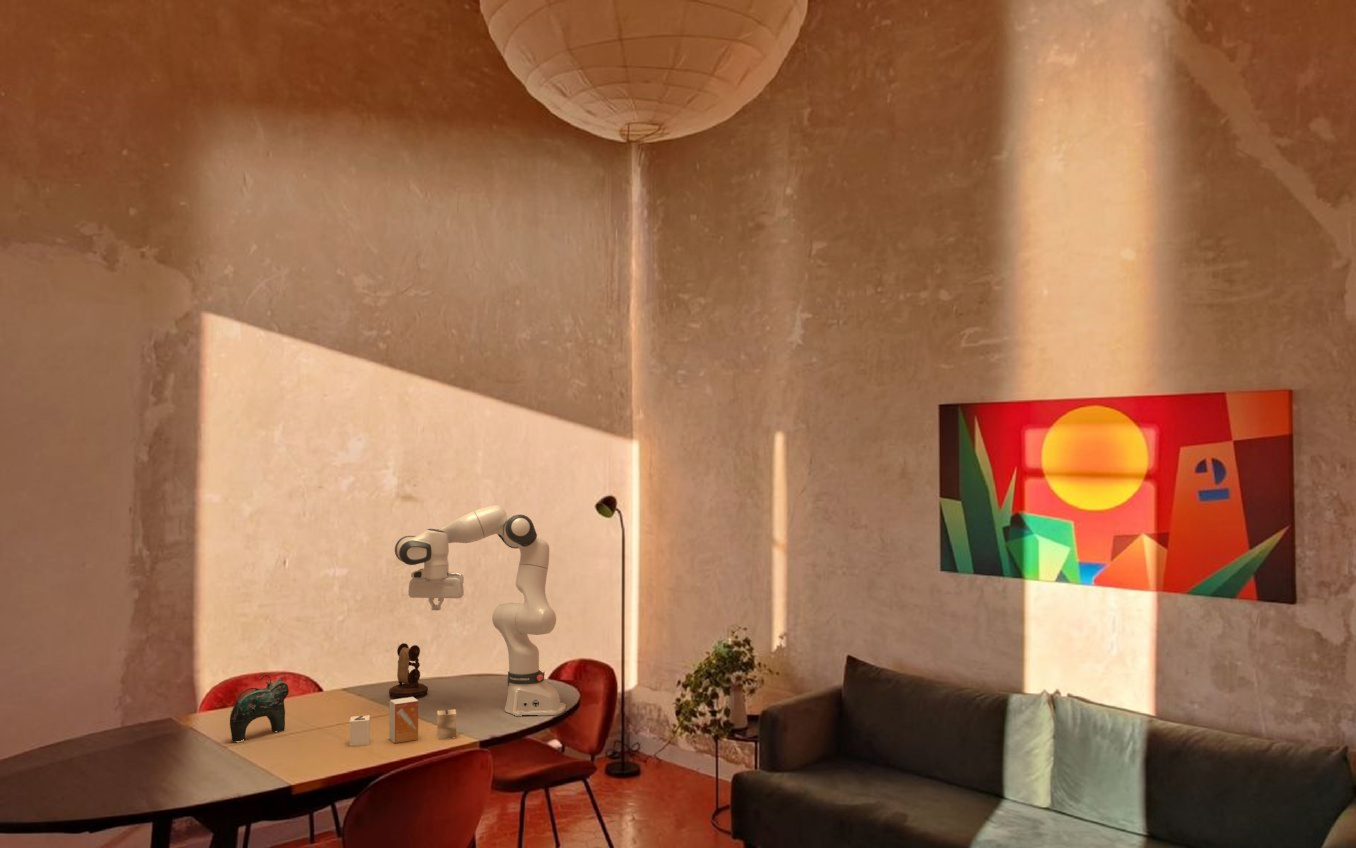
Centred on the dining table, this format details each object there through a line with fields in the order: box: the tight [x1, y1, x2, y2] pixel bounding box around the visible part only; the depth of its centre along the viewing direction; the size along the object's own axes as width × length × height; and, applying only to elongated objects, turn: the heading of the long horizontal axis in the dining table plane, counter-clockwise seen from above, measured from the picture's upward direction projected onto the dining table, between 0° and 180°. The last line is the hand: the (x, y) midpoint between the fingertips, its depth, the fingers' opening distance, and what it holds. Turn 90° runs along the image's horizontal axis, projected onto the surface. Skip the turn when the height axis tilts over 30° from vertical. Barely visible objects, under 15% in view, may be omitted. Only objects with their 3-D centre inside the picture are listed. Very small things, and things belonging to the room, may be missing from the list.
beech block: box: [436, 708, 457, 740], centre depth 325 cm, size 6×6×8 cm
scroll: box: [388, 642, 429, 698], centre depth 379 cm, size 15×15×20 cm
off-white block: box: [349, 714, 371, 747], centre depth 318 cm, size 6×6×8 cm
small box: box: [388, 696, 420, 744], centre depth 321 cm, size 8×6×13 cm
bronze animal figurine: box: [229, 674, 289, 741], centre depth 326 cm, size 20×6×20 cm, turn 145°
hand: (436, 610), depth 357 cm, fingers closed
